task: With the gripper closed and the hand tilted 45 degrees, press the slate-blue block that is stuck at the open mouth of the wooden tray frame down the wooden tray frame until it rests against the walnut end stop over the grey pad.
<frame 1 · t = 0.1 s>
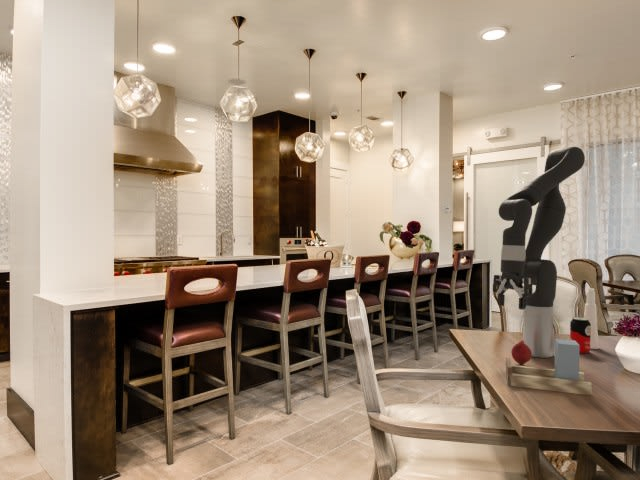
hand: (511, 307, 147), 17 cm above the table, tool pointing down, fingers open, 8 cm apart
beverage can: (579, 352, 158), on the table
block: (566, 362, 120), point 7 cm above the table, slide at 0.0 cm
cosmetic bottle: (590, 347, 165), on the table
wooden tray frame: (545, 384, 122), on the table
pomegranate: (521, 365, 140), on the table
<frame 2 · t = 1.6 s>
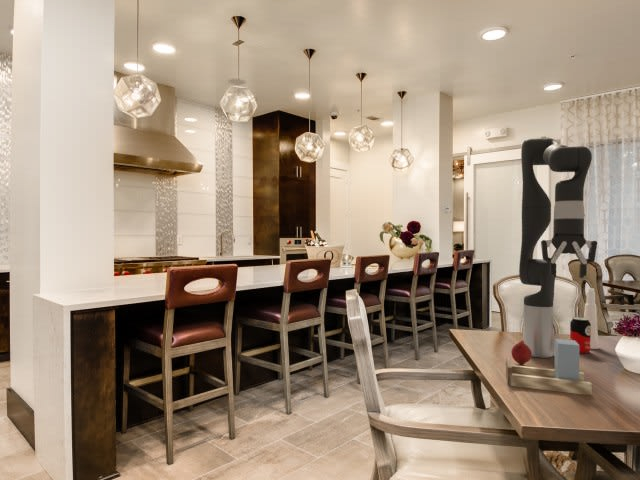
hand: (567, 277, 124), 30 cm above the table, tool pointing down, fingers open, 6 cm apart
nothing on the table moved.
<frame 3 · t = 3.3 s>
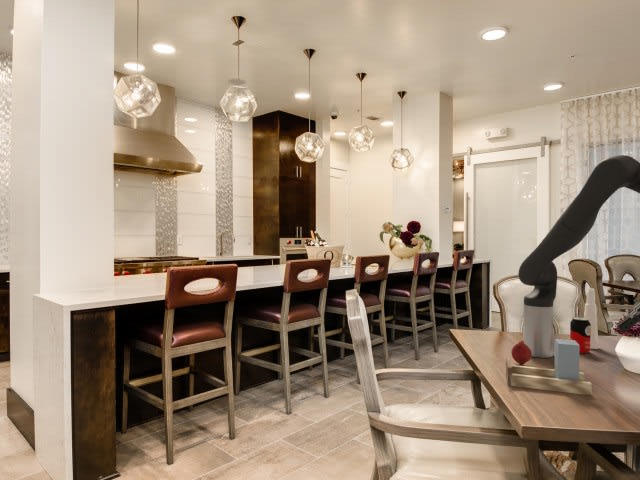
hand: (620, 329, 116), 17 cm above the table, tool tilted 45°, fingers closed
nothing on the table moved.
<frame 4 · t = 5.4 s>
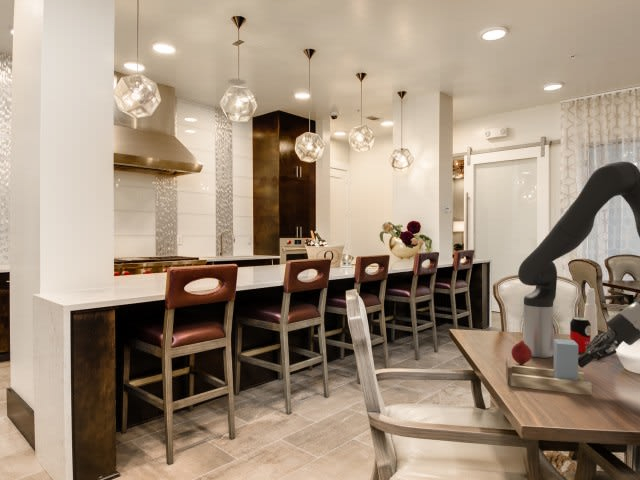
hand: (578, 364, 119), 6 cm above the table, tool tilted 45°, fingers closed
block: (565, 362, 120), point 7 cm above the table, slide at 0.3 cm, touching gripper
everything else where it was.
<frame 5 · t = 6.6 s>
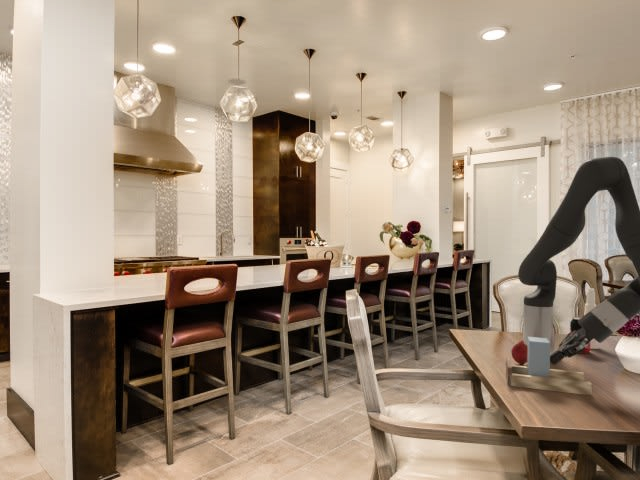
hand: (550, 361, 122), 6 cm above the table, tool tilted 45°, fingers closed
block: (538, 359, 123), point 7 cm above the table, slide at 7.0 cm, touching gripper
everything else where it was.
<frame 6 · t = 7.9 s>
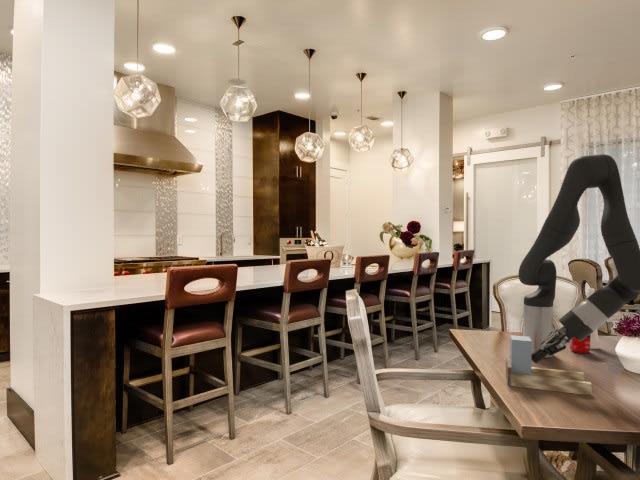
hand: (532, 360, 123), 6 cm above the table, tool tilted 45°, fingers closed
block: (520, 357, 124), point 7 cm above the table, slide at 11.5 cm, touching gripper
everything else where it was.
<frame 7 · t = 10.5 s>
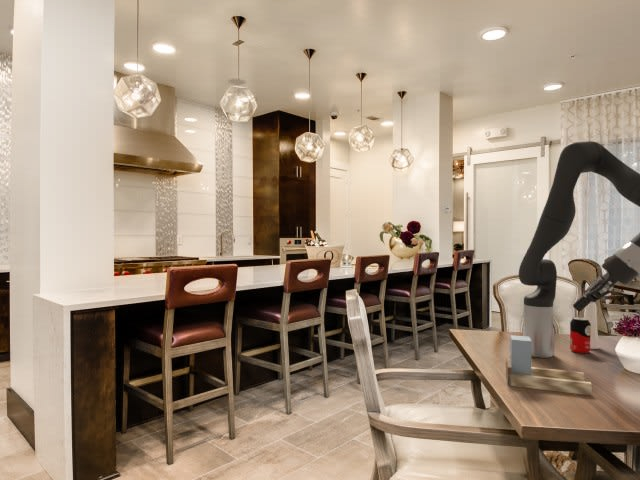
hand: (575, 308, 120), 21 cm above the table, tool tilted 40°, fingers closed
block: (520, 357, 124), point 7 cm above the table, slide at 11.5 cm, touching wooden tray frame
everything else where it was.
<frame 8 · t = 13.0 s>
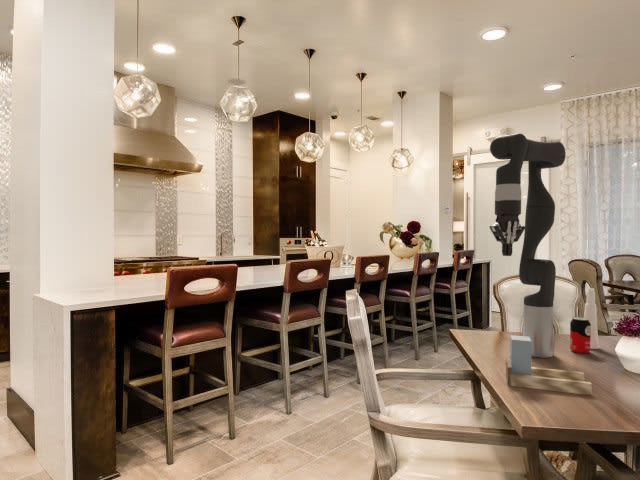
hand: (507, 255, 136), 35 cm above the table, tool pointing down, fingers closed
nothing on the table moved.
at the end: block slide at 11.5 cm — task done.
